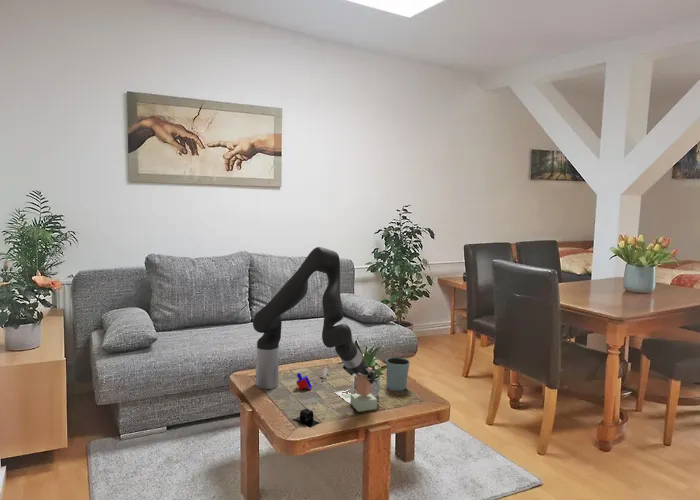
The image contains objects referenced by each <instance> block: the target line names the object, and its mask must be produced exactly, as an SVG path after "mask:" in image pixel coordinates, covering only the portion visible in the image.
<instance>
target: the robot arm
mask: <svg viewBox="0 0 700 500" xmlns="http://www.w3.org/2000/svg"><path fill="white" fill-rule="evenodd" d="M316 272H320V273H323V274H326V276H327V277H326V278H327V286H326V288H325V290H324V292H323V294H322V302H321V304H322V312H323V327H322V333H321V340H322V342H323V345H324V346H325V347H326V348H329V349H330V348H335V351H336V354H337V355H338V357H339V358H340V360H341V362H342V363H343V366H342V369H343V370H344V371H345V372H346V373H347V374H349V375H350V376H354V377H355V378H356V379H357V374H360V375H362V376H363V377H364V378H367V379H368V381H369V382H370V384H372V385H373V383H374V382H375V378H376V376H377V372H376V371H377V370H376V368H374V367H372V368H373V369H369V368H368V367H369V366H368V365H367V363H366V360H365V358H364V356H363V354H362V353H361V350H360V349H358V347H357V346H356V344H355V343H354V341H353V335H352V329H351V327H350V326H349V325H348V324H345V323H340V324H338V325H337V323H339V322H341V321H342V320H343V318H344V311H343V304H342V298H341V260H340V256H339V253H338V252H336V251H334V250H331V249H328V248H325V247H321V246H317V247H314V248H313V249H312V250H311V251H310V253H308V255H307V256H306V258H305V259H304V260H303V262H302V264H301V265H300V266H299V268H298V269H297V270H296V271H295V273H294V274H293V275H292V276H291V277H290V278H289V279H288V280H287V281H286V282H285V284H283V286H282V287H281V288H280V289H279V291H278V292H277V293H276V294H274V296H273V297H272V298H271V299H270V301H269V302H268V303H267V304H266V305H264V306H263V307H262V308H261V309H259V311H257V312H256V313H255V315H254V316H253V319H252V326H253V329H254V330H255V332H257V333H259V334H263V335H262V336H261V337H260V338H259V339H257V341H256V362H255V385H256V387H257V389H259V390H261V389H262V390H269V389H270V390H272V389H275V388H277V387H278V386H279V358H280V357H279V355H280V352H279V351H280V349H279V348H280V345H279V344H280V342H281V336H282V317H281V315H283V314H284V313H286V312H288V311H289V310H291V309H293V308H294V307H295V306H297V305H298V304H299V303H300V302H301V301H302V300H303V299H304V298H305V297H306V295H307V293H308V289H309V288H308V287H309V278H311V276H312V275H313V274H314V273H316ZM368 374H369V376H368Z"/></svg>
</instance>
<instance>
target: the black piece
mask: <svg viewBox="0 0 700 500" xmlns="http://www.w3.org/2000/svg"><path fill="white" fill-rule="evenodd" d="M292 421H293V422H296V423H298V424H301V425H303V426H306V427H308V428H312V427H315V426H317V425H319V424H321V421H318V420H315V419H314V411H313V410H311V409H309V408H304V409H301V410H300V412H299V416H297V417H295V418H293V419H292Z"/></svg>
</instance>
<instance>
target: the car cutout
mask: <svg viewBox="0 0 700 500" xmlns="http://www.w3.org/2000/svg"><path fill="white" fill-rule="evenodd" d="M327 374H328V375H327ZM325 375H326V376H325ZM327 376H331V372H329V371H328V367H325V368H324V369H323V371H322V374H321V375H319V378H320V377H322V378H321V379H326V378H327Z"/></svg>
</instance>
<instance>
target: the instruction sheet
mask: <svg viewBox="0 0 700 500" xmlns="http://www.w3.org/2000/svg"><path fill="white" fill-rule="evenodd" d="M345 390H346V391H348V390H349V389H345ZM346 391H344V390H339V391H336V392H334V394H335V393H336V394H335V395H336V396H338V397H339V396H340V397H339V398H341V399H342V398H343V399H344V400H343V399H342V400H343V401H345V402H346V403H347V402H348V403H347V404H350V399H351V393H349V392H348V394H346V393H342V392H346ZM342 394H343V395H342Z"/></svg>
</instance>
